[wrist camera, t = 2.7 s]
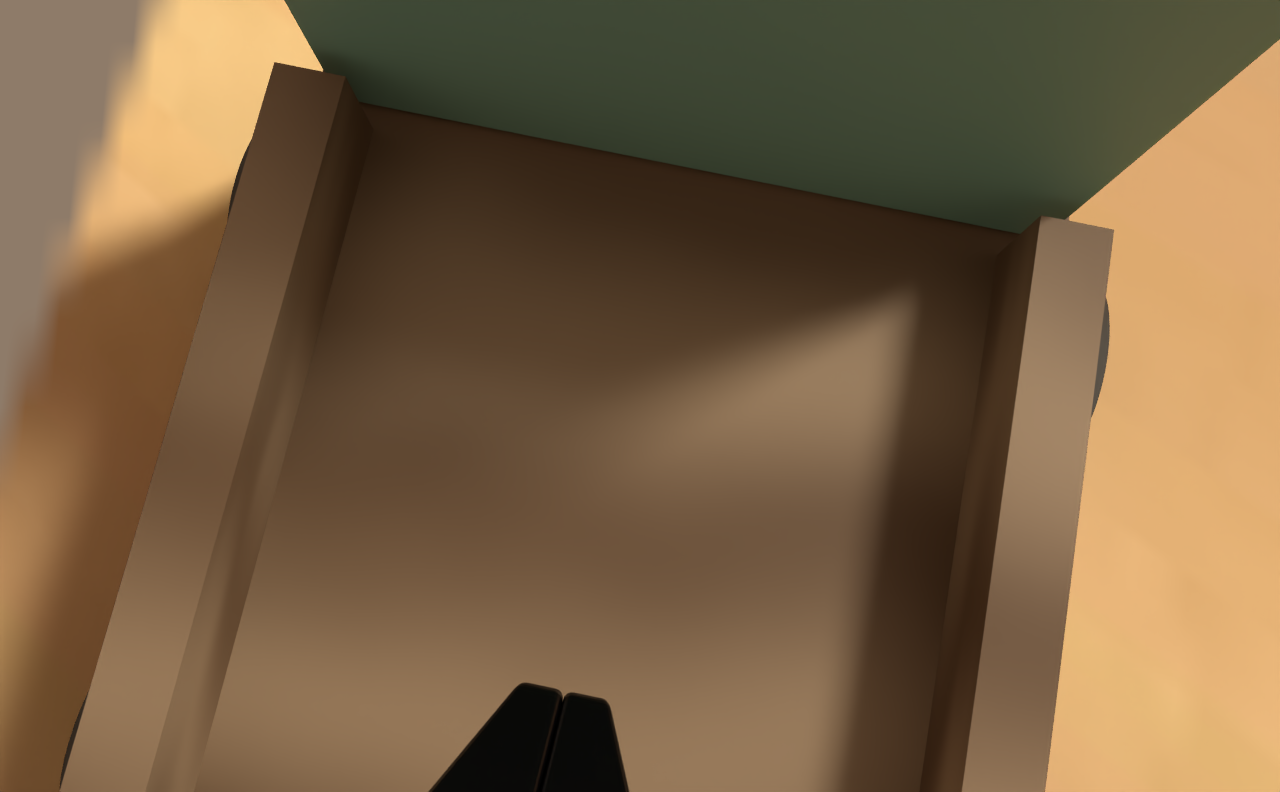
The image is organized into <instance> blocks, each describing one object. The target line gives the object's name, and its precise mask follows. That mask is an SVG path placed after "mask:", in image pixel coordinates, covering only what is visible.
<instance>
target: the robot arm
mask: <svg viewBox="0 0 1280 792" xmlns="http://www.w3.org/2000/svg"><path fill="white" fill-rule="evenodd" d="M428 792H629V787H628V783H627V778H626V774H625V769H624V765H623V760H622V756H621V751H620V747H619V742H618V738H617V733H616V729H615V724H614V720H613V715H612V711H611V707H610V705H609V703H608V702H607V701H606V700H605V699H603V698H599V697H594V696H589V695H585V694H580V693H575V692H570V693H568V694H566V695H565V696H564V698H563V695H562V692H561V691H560V690H558V689H556V688H551V687H547V686H542V685H537V684H532V683H528V682H524V683H521V684H519V685H518V686H517V687H515V688H514V689H513V691H512V692H511V693H510V694H509V695H508V696H507V698H506V699H505V700H504V701H503V702H502V704H501V705H500V706H499V707H498V708H497V710H496V711H495V712H494V713H493V714H492V716H491V717H490V718H489V719H488V720H487V722H486V723H485V724H484V725H483V726H482V728H481V729H480V730H479V731H478V732H477V734H476V735H475V736H474V737H473V738H472V740H471V741H470V742H469V743H468V744H467V746H466V747H465V748H464V749H463V750H462V752H461V753H460V754H459V755H458V756H457V758H456V759H455V760H454V761H453V762H452V764H451V765H450V766H449V767H448V768H447V770H446V771H445V772H444V773H443V774H442V776H441V777H440V778H439V779H438V780H437V782H436V783H435V784H434V785H433V786H432V788H431V789H430V790H429V791H428Z"/></svg>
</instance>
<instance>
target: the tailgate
mask: <svg viewBox="0 0 1280 792" xmlns="http://www.w3.org/2000/svg"><path fill="white" fill-rule="evenodd" d="M285 2H286V4H287V6H288V7H289V9H290V11H291V13H292V14H293V16H294V18H295V20H296V22H297V23H298V25H299V27H300V29H301V30H302V32H303V34H304V36H305V38H306V39H307V41H308V43H309V45H310V46H311V48H312V50H313V52H314V54H315V55H316V57H317V59H318V61H319V62H320V64H321V66H322V68H323V70H324V71H325V72H326V73H331V74H336V75H341V76H346V78H347V80H348V82H349V84H350V86H351V88H352V90H353V92H354V94H355V95H356V97H357V99H358V101H359V102H363V103H368V104H373V105H378V106H383V107H388V108H393V109H398V110H403V111H408V112H413V113H418V114H423V115H428V116H433V117H438V118H443V119H448V120H453V121H458V122H463V123H468V124H473V125H478V126H483V127H488V128H493V129H498V130H503V131H508V132H513V133H518V134H523V135H528V136H533V137H538V138H543V139H548V140H553V141H558V142H563V143H568V144H573V145H578V146H583V147H588V148H593V149H598V150H603V151H608V152H613V153H618V154H623V155H628V156H633V157H638V158H643V159H648V160H653V161H658V162H663V163H668V164H673V165H678V166H683V167H688V168H693V169H698V170H703V171H708V172H713V173H718V174H723V175H728V176H733V177H738V178H743V179H748V180H753V181H758V182H763V183H768V184H773V185H778V186H783V187H788V188H793V189H798V190H803V191H808V192H813V193H818V194H823V195H828V196H833V197H838V198H843V199H848V200H853V201H858V202H863V203H868V204H873V205H878V206H883V207H888V208H893V209H898V210H903V211H908V212H913V213H918V214H923V215H928V216H933V217H938V218H943V219H948V220H953V221H958V222H963V223H968V224H973V225H978V226H983V227H988V228H993V229H998V230H1003V231H1008V232H1013V233H1018V234H1021V233H1022V232H1023V231H1024V230H1025V229H1026V228H1027V227H1028V226H1030V225H1031V224H1032V223H1033V222H1034V221H1035V220H1036V219H1037V218H1038V217H1040V216H1041V215H1042V216H1047V217H1052V218H1057V219H1062V220H1065V219H1066V218H1068V217H1069V216H1070V215H1071V214H1072V213H1074V212H1075V211H1076V210H1077V209H1078V208H1079V207H1081V206H1082V205H1083V204H1084V203H1085V202H1087V201H1088V200H1089V199H1090V198H1091V197H1093V196H1094V195H1095V194H1096V193H1097V192H1098V191H1100V190H1101V189H1102V188H1103V187H1104V186H1106V185H1107V184H1108V183H1109V182H1110V181H1112V180H1113V179H1114V178H1115V177H1116V176H1118V175H1119V174H1120V173H1121V172H1122V171H1123V170H1125V169H1126V168H1127V167H1128V166H1129V165H1131V164H1132V163H1133V162H1134V161H1135V160H1137V159H1138V158H1139V157H1140V156H1141V155H1142V154H1144V153H1145V152H1146V151H1147V150H1148V149H1150V148H1151V147H1152V146H1153V145H1154V144H1156V143H1157V142H1158V141H1159V140H1160V139H1162V138H1163V137H1164V136H1165V135H1166V134H1167V133H1169V132H1170V131H1171V130H1172V129H1173V128H1175V127H1176V126H1177V125H1178V124H1179V123H1181V122H1182V121H1183V120H1184V119H1185V118H1186V117H1188V116H1189V115H1190V114H1191V113H1192V112H1194V111H1195V110H1196V109H1197V108H1198V107H1200V106H1201V105H1202V104H1203V103H1204V102H1206V101H1207V100H1208V99H1209V98H1210V97H1211V96H1213V95H1214V94H1215V93H1216V92H1217V91H1219V90H1220V89H1221V88H1222V87H1223V86H1225V85H1226V84H1227V83H1228V82H1229V81H1230V80H1232V79H1233V78H1234V77H1235V76H1236V75H1238V74H1239V73H1240V72H1241V71H1242V70H1244V69H1245V68H1246V67H1247V66H1248V65H1250V64H1251V63H1252V62H1253V61H1254V60H1255V59H1257V58H1258V57H1259V56H1260V55H1261V54H1263V53H1264V52H1265V51H1266V50H1267V49H1269V48H1270V47H1271V46H1272V45H1273V44H1274V43H1276V42H1277V41H1278V40H1279V39H1280V0H285Z"/></svg>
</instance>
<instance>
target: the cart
mask: <svg viewBox="0 0 1280 792" xmlns="http://www.w3.org/2000/svg"><path fill="white" fill-rule="evenodd" d="M1113 233H1114V230H1112V229H1107V228H1102V227H1097V226H1092V225H1087V224H1082V223H1077V222H1072V221H1069V217H1068V218H1066V219H1065V220H1062V219H1057V218H1052V217H1047V216H1042V215H1041V216H1040V217H1038V218H1037V219H1036V220H1035V221H1034V222H1033V223H1032V224H1031V225H1030V226H1028V227H1027V228H1026V229H1025V230H1024V231H1023V232H1022V233H1021V234H1018V233H1013V232H1008V231H1003V230H998V229H993V228H988V227H983V226H978V225H973V224H968V223H963V222H958V221H953V220H948V219H943V218H938V217H933V216H928V215H923V214H918V213H913V212H908V211H903V210H898V209H893V208H888V207H883V206H878V205H873V204H868V203H863V202H858V201H853V200H848V199H843V198H838V197H833V196H828V195H823V194H818V193H813V192H808V191H803V190H798V189H793V188H788V187H783V186H778V185H773V184H768V183H763V182H758V181H753V180H748V179H743V178H738V177H733V176H728V175H723V174H718V173H713V172H708V171H703V170H698V169H693V168H688V167H683V166H678V165H673V164H668V163H663V162H658V161H653V160H648V159H643V158H638V157H633V156H628V155H623V154H618V153H613V152H608V151H603V150H598V149H593V148H588V147H583V146H578V145H573V144H568V143H563V142H558V141H553V140H548V139H543V138H538V137H533V136H528V135H523V134H518V133H513V132H508V131H503V130H498V129H493V128H488V127H483V126H478V125H473V124H468V123H463V122H458V121H453V120H448V119H443V118H438V117H433V116H428V115H423V114H418V113H413V112H408V111H403V110H398V109H393V108H388V107H383V106H378V105H373V104H368V103H363V102H359V101H358V99H357V97H356V95H355V94H354V92H353V90H352V88H351V86H350V84H349V82H348V80H347V78H346V76H341V75H336V74H331V73H326V72H325V71H324V70H323V72H321V71H316V70H311V69H306V68H301V67H296V66H291V65H286V64H281V63H276V62H274V66H273V69H272V72H271V76H270V79H269V83H268V86H267V89H266V93H265V96H264V100H263V103H262V106H261V110H260V113H259V117H258V120H257V123H256V127H255V130H254V133H253V137H252V140H251V141H250V143H249V145H248V147H247V149H246V151H245V154H244V156H243V159H242V161H241V163H240V166H239V169H238V172H237V175H236V179H235V183H234V187H233V190H232V195H231V200H230V206H229V213H228V221H227V225H226V228H225V232H224V235H223V239H222V242H221V245H220V249H219V252H218V256H217V259H216V262H215V266H214V269H213V272H212V276H211V279H210V283H209V286H208V289H207V293H206V296H205V300H204V303H203V306H202V310H201V313H200V317H199V320H198V323H197V327H196V330H195V334H194V337H193V340H192V344H191V347H190V350H189V354H188V357H187V361H186V364H185V367H184V371H183V374H182V378H181V381H180V384H179V388H178V391H177V395H176V398H175V401H174V405H173V408H172V411H171V415H170V418H169V422H168V425H167V428H166V432H165V435H164V439H163V442H162V445H161V449H160V452H159V456H158V459H157V462H156V466H155V469H154V473H153V476H152V479H151V483H150V486H149V489H148V493H147V496H146V500H145V503H144V506H143V510H142V513H141V517H140V520H139V523H138V527H137V530H136V534H135V537H134V540H133V544H132V547H131V550H130V554H129V557H128V561H127V564H126V567H125V571H124V574H123V578H122V581H121V584H120V588H119V591H118V595H117V598H116V601H115V605H114V608H113V612H112V615H111V618H110V622H109V625H108V628H107V632H106V635H105V639H104V642H103V645H102V649H101V652H100V656H99V659H98V662H97V666H96V669H95V673H94V676H93V679H92V683H91V686H90V689H89V691H88V693H87V696H86V698H85V700H84V702H83V705H82V707H81V709H80V712H79V714H78V717H77V719H76V722H75V725H74V728H73V731H72V734H71V737H70V740H69V743H68V747H67V751H66V755H65V759H64V764H63V769H62V774H61V781H60V791H59V792H428V791H429V790H430V789H431V788H432V786H433V785H434V784H435V783H436V782H437V780H438V779H439V778H440V777H441V776H442V774H443V773H444V772H445V771H446V770H447V768H448V767H449V766H450V765H451V764H452V762H453V761H454V760H455V759H456V758H457V756H458V755H459V754H460V753H461V752H462V750H463V749H464V748H465V747H466V746H467V744H468V743H469V742H470V741H471V740H472V738H473V737H474V736H475V735H476V734H477V732H478V731H479V730H480V729H481V728H482V726H483V725H484V724H485V723H486V722H487V720H488V719H489V718H490V717H491V716H492V714H493V713H494V712H495V711H496V710H497V708H498V707H499V706H500V705H501V704H502V702H503V701H504V700H505V699H506V698H507V696H508V695H509V694H510V693H511V692H512V691H513V689H514V688H515V687H517V686H518V685H519V684H521V683H524V682H528V683H532V684H537V685H542V686H547V687H551V688H556V689H558V690H560V691H561V692H562V695H563V698H564V696H565V695H566V694H568V693H570V692H575V693H580V694H585V695H589V696H594V697H599V698H603V699H605V700H606V701H607V702H608V703H609V705H610V707H611V711H612V715H613V720H614V724H615V729H616V733H617V738H618V742H619V747H620V751H621V756H622V760H623V765H624V769H625V774H626V778H627V783H628V787H629V792H1045V787H1046V779H1047V771H1048V763H1049V754H1050V746H1051V738H1052V730H1053V722H1054V714H1055V706H1056V697H1057V689H1058V681H1059V673H1060V665H1061V657H1062V649H1063V640H1064V632H1065V624H1066V616H1067V608H1068V600H1069V592H1070V583H1071V575H1072V567H1073V559H1074V551H1075V543H1076V535H1077V526H1078V518H1079V510H1080V502H1081V494H1082V486H1083V478H1084V469H1085V461H1086V453H1087V445H1088V437H1089V429H1090V421H1091V417H1092V415H1093V412H1094V409H1095V406H1096V403H1097V400H1098V397H1099V394H1100V390H1101V386H1102V382H1103V378H1104V373H1105V368H1106V362H1107V356H1108V347H1109V327H1110V325H1109V311H1108V304H1107V300H1106V290H1107V282H1108V274H1109V266H1110V258H1111V250H1112V242H1113Z"/></svg>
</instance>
